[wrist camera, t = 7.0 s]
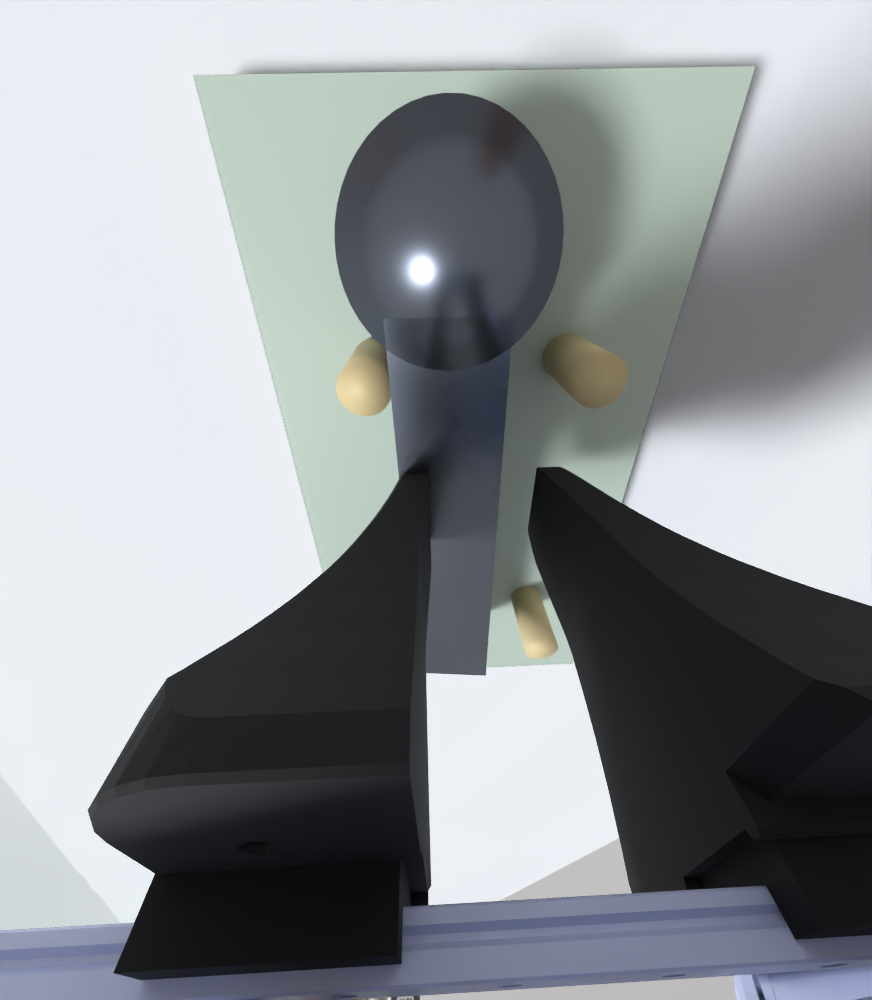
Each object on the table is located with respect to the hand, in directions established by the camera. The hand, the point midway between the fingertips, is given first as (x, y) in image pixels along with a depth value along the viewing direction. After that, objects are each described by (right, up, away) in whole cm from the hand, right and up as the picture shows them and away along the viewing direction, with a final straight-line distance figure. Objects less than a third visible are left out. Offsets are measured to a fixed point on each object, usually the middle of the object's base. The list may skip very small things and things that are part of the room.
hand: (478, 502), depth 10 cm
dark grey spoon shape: (-1, +1, +2) cm, 2 cm away
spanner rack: (0, +1, +4) cm, 4 cm away
